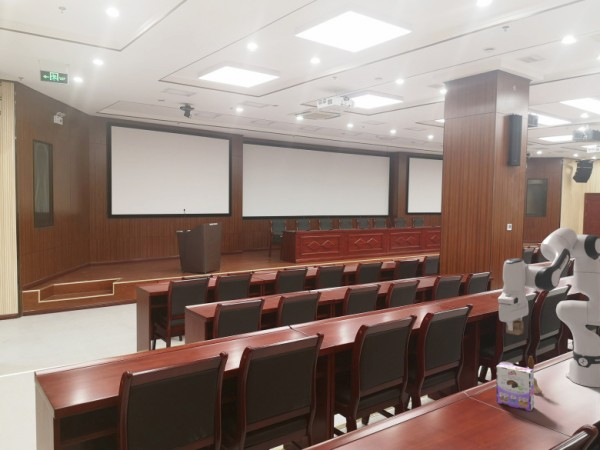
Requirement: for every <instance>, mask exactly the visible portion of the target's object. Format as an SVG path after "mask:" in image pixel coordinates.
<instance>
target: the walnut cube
mask: <svg viewBox="0 0 600 450" xmlns="http://www.w3.org/2000/svg"><path fill="white" fill-rule="evenodd" d="M513 326H514V330H512V331H510V330H508V325H507V322H505V330H506V331H505V334H510V335H516V336H520V335H522V334H524V321H523V320H522V321H519V320H513Z"/></svg>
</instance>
